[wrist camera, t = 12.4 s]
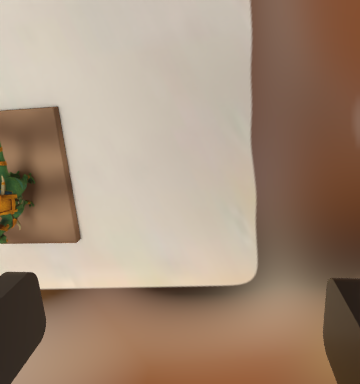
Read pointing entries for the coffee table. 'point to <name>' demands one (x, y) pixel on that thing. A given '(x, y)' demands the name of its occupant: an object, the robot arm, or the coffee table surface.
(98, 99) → the coffee table surface
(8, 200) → the figurine
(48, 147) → the walnut board
